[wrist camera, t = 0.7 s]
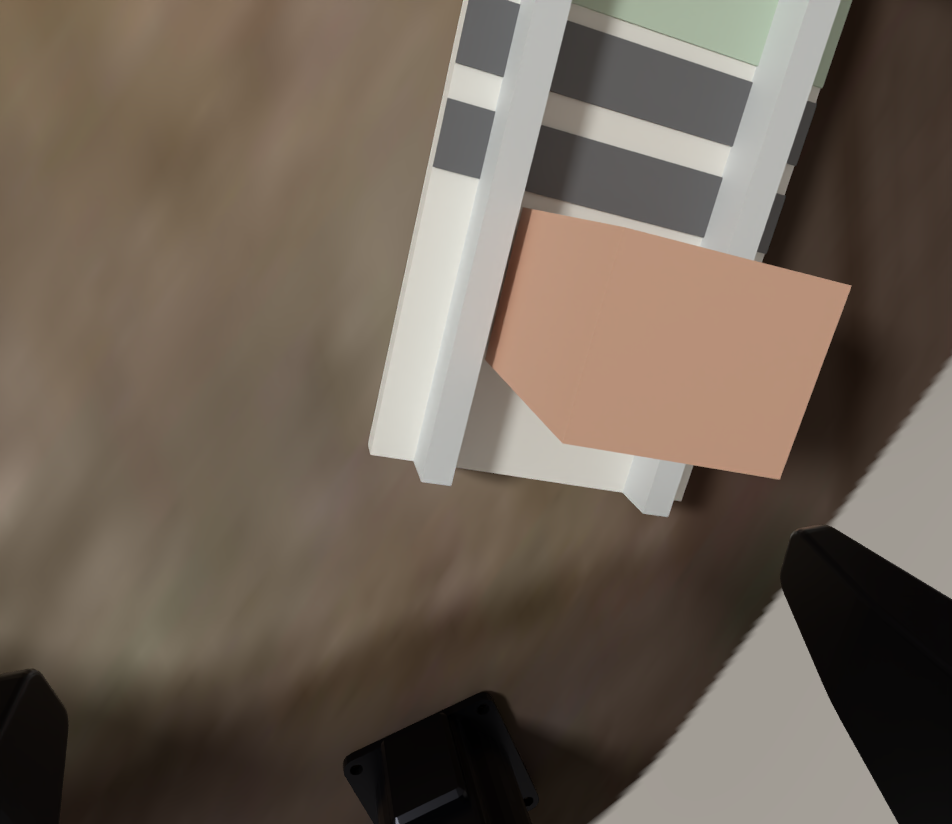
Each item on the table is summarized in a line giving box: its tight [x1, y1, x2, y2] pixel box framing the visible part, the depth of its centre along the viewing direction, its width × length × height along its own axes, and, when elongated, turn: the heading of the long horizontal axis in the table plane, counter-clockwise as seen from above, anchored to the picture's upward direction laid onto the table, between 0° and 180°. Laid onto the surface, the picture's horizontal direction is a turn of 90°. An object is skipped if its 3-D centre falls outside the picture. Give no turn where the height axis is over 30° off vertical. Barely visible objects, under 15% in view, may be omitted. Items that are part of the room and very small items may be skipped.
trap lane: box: [368, 0, 852, 517], centre depth 22 cm, size 21×12×7 cm, turn 166°
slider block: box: [485, 207, 851, 479], centre depth 21 cm, size 5×6×8 cm
